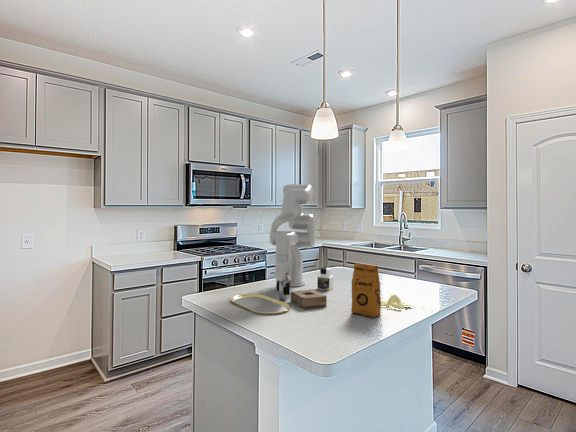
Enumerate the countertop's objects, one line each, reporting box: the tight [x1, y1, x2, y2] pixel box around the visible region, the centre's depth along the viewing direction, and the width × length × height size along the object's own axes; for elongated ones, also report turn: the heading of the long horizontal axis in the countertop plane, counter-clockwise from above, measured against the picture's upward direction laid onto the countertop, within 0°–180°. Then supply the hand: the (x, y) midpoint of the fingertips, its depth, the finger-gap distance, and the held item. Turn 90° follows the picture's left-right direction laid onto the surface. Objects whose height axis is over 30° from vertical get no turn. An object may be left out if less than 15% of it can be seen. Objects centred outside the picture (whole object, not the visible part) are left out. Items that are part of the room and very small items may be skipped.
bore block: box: [290, 288, 327, 310], centre depth 167 cm, size 14×12×5 cm
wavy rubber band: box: [230, 293, 291, 316], centre depth 165 cm, size 19×35×2 cm, turn 38°
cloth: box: [381, 293, 412, 309], centre depth 164 cm, size 22×19×6 cm
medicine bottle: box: [317, 266, 334, 291], centre depth 199 cm, size 7×7×12 cm
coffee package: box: [351, 263, 382, 318], centre depth 152 cm, size 10×12×22 cm
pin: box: [278, 281, 287, 303], centre depth 173 cm, size 4×4×10 cm
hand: (282, 292), depth 173 cm, fingers open, 8 cm apart
